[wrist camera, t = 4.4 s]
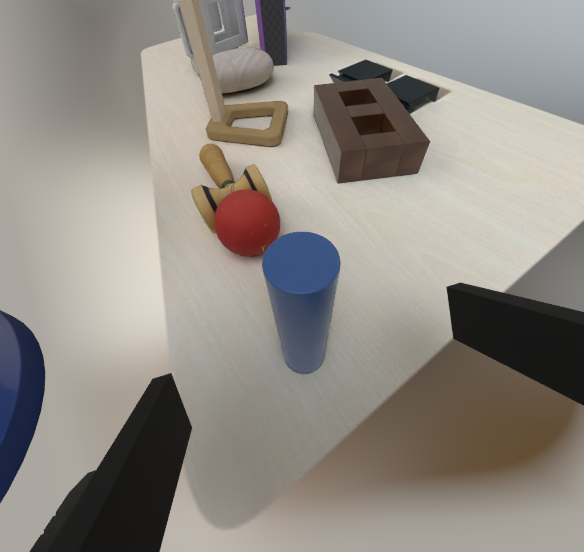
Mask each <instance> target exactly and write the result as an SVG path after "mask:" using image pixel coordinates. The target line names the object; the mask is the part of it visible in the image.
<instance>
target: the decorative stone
mask: <svg viewBox="0 0 584 552" xmlns="http://www.w3.org/2000/svg"><path fill="white" fill-rule="evenodd" d="M213 60H214V64H215V68H216V72H217V76H218V80H219V84H220V88H221V93H231V92H236V91H241V90H246V89H250V88H253V87H256V86H259V85H261V84H262V83H264V82H266V81H267V80H268V79H269V78H270V76H271V74H272V72H273V61H272V59H271V57H270V56H269V55H268V54H267V53H266V52H264V51H262V50H260V49H257V48H237V49H231V50H227V51H223V52H220V53H217V54H215V55H213ZM200 79H201V78H200Z"/></svg>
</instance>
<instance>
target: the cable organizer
mask: <svg viewBox="0 0 584 552" xmlns="http://www.w3.org/2000/svg"><path fill="white" fill-rule="evenodd" d="M217 2H219V3H220V9H221V14H222V18H223V24H224V29H225V31H223V32H221V33H218V34H215V35H214V33H213V32H216V31H220V30H221V29H222V25H221V20H220V15H219V10H218V5H217ZM199 3H200V7H201V11H202V15H203V19H204V23H205V27H206V31H207V36H208V40H209V44H210V48H211V52H212V56H213V55H215V54H217V53H220V52H223V51H227V50H231V49H237V48H238V46H241V45H243V44H246V43H247V42H248V36H247V29H246V22H245V15H244V8H243V1H242V0H199ZM173 11H174V15H175V18H176V21H177V24H178V28H179V31H180V35H181V38H182V41H183V45H184V48H185V51H186V54H187V56H188V57H190V58H191V62H192V65H193V68H194V70H195V71H196V72H198V73H199V71H198V67H197V64H196V60H195V56H194V53H193V49H192V45H191V42H190V38H189V35H188V31H187V27H186V24H185V20H184V16H183V13H182V9H181V6H180V2H179V0H174V4H173ZM224 39H225V40H224ZM221 40H222V41H221ZM218 41H219V42H218ZM216 42H217V43H216Z"/></svg>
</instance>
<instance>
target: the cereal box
mask: <svg viewBox="0 0 584 552" xmlns="http://www.w3.org/2000/svg"><path fill="white" fill-rule="evenodd" d="M255 5H256V14H257V22H258V31H259V40H260V48H261V50H262V51H264V52H266V53H267V54H268V55H269V56H270V57H271V59H272V61H273V65H287V30H286V12H285V11H286V10H285V0H255Z"/></svg>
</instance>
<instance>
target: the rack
mask: <svg viewBox="0 0 584 552" xmlns="http://www.w3.org/2000/svg"><path fill="white" fill-rule="evenodd" d="M314 117H315V120H316V123H317V126H318V128H319V131H320V134H321V137H322V140H323V143H324V145H325V148H326V151H327V154H328V157H329V159H330V162H331V165H332V168H333V171H334V174H335V176H336V179H337V182H338V183H344V182H352V181H360V180H368V179H376V178H384V177H392V176H401V175H409V174H417V173H418V171H419V169H420V166H421V164H422V161H423V159H424V156H425V153H426V151H427V148H428V146H429V143H430V141H429V139H428V138H427V137H426V135H425V134H424V133H423V131H422V130H421V129H420V127H419V126H418V125H417V124H416V122H415V121H414V120H413V118H412V117H411V116H410V114H409V113H408V112H407V110H406V109H405V108H404V106H403V105H402V104H401V103H400V101H399V100H398V99H397V97H396V96H395V95H394V93H393V92H392V91H391V89H390V88H389V87H388V85H387V84H386V83H385V82H384V80H383V79H382V78H376V79H367V80H358V81H349V82H340V83H331V84H322V85H314Z"/></svg>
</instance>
